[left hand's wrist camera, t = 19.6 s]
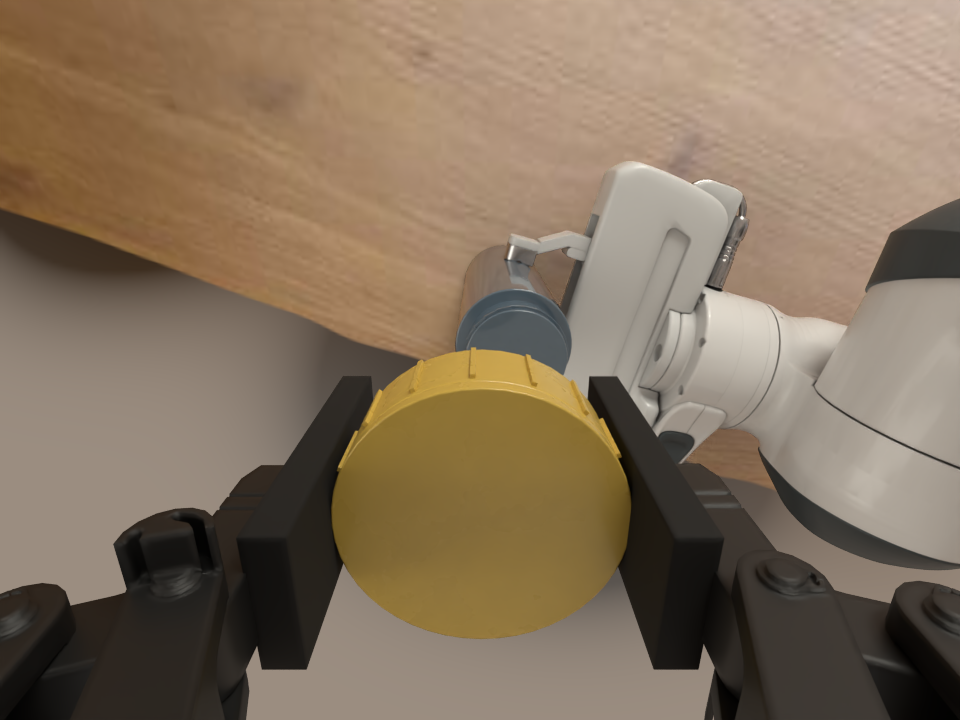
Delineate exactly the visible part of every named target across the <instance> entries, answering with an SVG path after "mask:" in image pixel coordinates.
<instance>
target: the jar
mask: <svg viewBox="0 0 960 720" xmlns="http://www.w3.org/2000/svg"><path fill="white" fill-rule="evenodd" d="M505 250H506V246H495V247H491V248H488V249H486V250H484V251H482V252H481V253H479V254H478V255H477V256H476V257H475V258H474V259H473V260H472V262H471V263H470V265H469V267H468V269H467V272H466V276H465V283H464V289H463V295H462V302H461V308H460V315H459V321H458V327H457V334H456V343H455V347H456V352H460V351H466V350H471V348H473V347H476V350H496V351H504V352H509V353H514V354H519V355H522V356H525V355H526V354H528V355H530V356H531V359H534V360H536V361H538V362H540V363H543V364H545V365H547V366H549V367H551V368H552V369H554V370H555V371H557V372H558V373H560V374H561V375H564V373H565V370H566V366H567V364H568V362H569V358H570V355H571V349H572V336H571V331H570V327H569V324H568V322H567V319H566V317H565V316H564V314H563V312H562V311H561V309H560V307H559V306H558V304H557V302H556V301H555V299H554V297H553V296H552V294H551V292H550V291H549V289H548V287H547V286H546V284H545V282H544V281H543V279H542V277H541V276H540V274H539V272H538V270H537V269H536V267H535V265H534V264H533V266H532V267H531V266H527V265H525V264H522V263H521V262H520V261H517V262H515V261H510V260H507V259H505V258H504V254H505Z"/></svg>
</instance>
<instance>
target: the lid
mask: <svg viewBox="0 0 960 720" xmlns="http://www.w3.org/2000/svg"><path fill="white" fill-rule="evenodd" d="M621 457H622V456H621V454H620V452H619V450H618V448H617V446H616V444H615V442H614V440H613V438H612V436H611V434H610V432H609V430H608V428H607V426H606V424H605V422H604V420H603V418H601V419H599V418H598V416H597V414H596V412H595V410H594V409H593V407H592V406H591V404H590V402H589V401H588V399H587V398H586V397H585V396H584V395H583V394H582V392H581V391H580V390H579V388H578V386H577V384H576V382H575V381H574V380H573V379H572V380H571V381H569V380H568V379H567V378H566V377H564V376H563V375H561V374H560V373H558V372H557V371H555V370H554V369H552V368H551V367H549V366H547V365H545V364H543V363H540V362H538V361H536V360H534V359H531V356H530V355H528V354H526V355H525V356H522V355H519V354H514V353H509V352H504V351H496V350H476V347H473V348H471V350H466V351H460V352H454V353H448V354H445V355H441V356H438V357H435V358H432V359H429V360H427V361H425V362H423V360H420V361H418V363H417V365H416V366H414V367H413V368H411V369H409V370H408V371H406V372H405V373H403V374H402V375H400V376H399V377H398V378H396V379H395V380H394V381H393V382H392V383H390V384H389V385H388V386H387V387H386V388H385V389H384V390H383V391H381V390H379V391H378V392H377V394H376V396H375V398H374V400H373V402H372V404H371V406H370V409H369V410H368V412H367V414H366V416H365V418H364V420H363V422H362V424H361V427H360V429H359V431H355V432H354V435H353V437H352V439H351V441H350V443H349V445H348V447H347V449H346V451H345V453H344V455H343V457H342V460H341V462H340V464H339V466H338V468H337V471H338V472H339V474H338V476H337V480H336V483H335V487H334V490H333V496H332V504H331V521H332V529H333V534H334V540H335V543H336V546H337V549H338V552H339V555H340V557H341V559H342V561H343V563H344V565H345V567H346V569H347V570H348V572H349V573H350V575H351V576H352V578H353V579H354V580H355V582H356V583H357V585H358V586H359V587H360V588H361V589H362V590H363V591H364V592H365V593H366V594H367V595H368V596H369V597H370V598H371V599H372V600H373V601H375V602H376V603H377V604H378V605H379V606H381V607H382V608H384V609H385V610H386V611H388V612H389V613H391V614H393V615H394V616H396V617H397V618H399V619H401V620H403V621H405V622H407V623H409V624H411V625H414V626H417V627H419V628H422V629H425V630H427V631H431V632H434V633H438V634H442V635H447V636H453V637H460V638H472V639H493V638H504V637H511V636H517V635H521V634H525V633H529V632H533V631H536V630H538V629H541V628H544V627H547V626H550V625H552V624H554V623H556V622H558V621H560V620H562V619H564V618H566V617H567V616H569V615H571V614H572V613H574V612H575V611H577V610H579V609H580V608H581V607H583V606H584V605H585V604H586V603H587V602H589V601H590V600H591V599H592V598H593V597H594V596H595V595H596V594H597V593H598V592H599V591H600V590H601V589H602V588H603V587H604V586H605V585H606V583H607V582H608V581H609V579H610V578H611V577H612V575H613V574H614V573H615V571H616V569H617V567H618V565H619V564H620V562H621V560H622V558H623V555H624V553H625V550H626V546H627V539H628V530H629V522H630V514H631V493H630V489H629V485H628V482H627V478H626V475H625V473H624V471H623V469H622V466H621V464H620V462H619V460H618V458H621Z"/></svg>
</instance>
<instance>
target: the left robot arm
mask: <svg viewBox="0 0 960 720" xmlns="http://www.w3.org/2000/svg"><path fill="white" fill-rule="evenodd" d="M587 399H588V401H589V402H590V404H591V406H592V407H593V409H594V410H595V412H596V414H597V416H598V418H599V419H601V418H603V420H604V422H605V424H606V426H607V428H608V430H609V432H610V434H611V436H612V438H613V440H614V442H615V444H616V446H617V448H618V450H619V452H620V454H621V456H622V457H621V458H618V460H619V462H620V464H621V466H622V469H623V471H624V473H625V475H626V478H627V482H628V485H629V489H630V493H631V514H630V522H629V530H628V539H627V546H626V550H625V553H624V555H623V558H622V560H621V562H620V564H619V565H618V568H619V570H620V574H621V576H622V579H623V582H624V585H625V588H626V591H627V594H628V597H629V599H630V602H631V605H632V608H633V611H634V614H635V617H636V620H637V622H638V625H639V628H640V631H641V634H642V637H643V640H644V643H645V646H646V648H647V651H648V654H649V657H650V660H651V663H652V666H653V669H666V670H672V669H673V670H676V669H678V670H679V669H682V670H689V669H691V670H695V669H696V670H698V669H699V664H700V659H701V654H702V649H703V644H704V645H705V648H706V650H707V652H708V654H709V656H710V658H711V660H712V662H713V664H714V667H715V669H714V674H713V679H712V683H711V688H710V693H709V697H708V702H707V707H706V711H705V719H704V720H712V719H713V715H714V720H960V591H958V590H955V589H953V588H952V589H951V588H949V587H946V586H943V585H940V584H935V583H929V582H923V581H914V582H905V583H903V584H902V585H900V586H899V587H898V588H897V589H896V590H895V593H894V596H893V599H892V601H891V604H890V603H886V602H881V601H877V600H872V599H868V598H863V597H859V596H855V595H850V594H846V593H842V592H839V591H835V590H834V589H833V587H832V586H831V584H830V583H829V582H828V580H827V579H826V577H825V576H824V575H823V574H821V573H820V572H819V571H818V570H816V569H815V568H814V567H813V566H811V565H810V564H808V563H806V562H804V561H802V560H800V559H798V558H796V557H794V556H792V555H789V554H785V553H782V552H779V551H777V550H776V549H775V548H774V547H773V545H772V544H771V543H770V542H769V540H768V539H767V538H766V536H765V535H764V534H763V533H762V531H761V530H760V529H759V527H758V526H757V525H756V524H755V522H754V521H753V520H752V518H751V517H750V516H749V515H748V513H747V512H746V511H745V509H744V508H741V504H740V503H739V502H738V500H737V499H736V498H735V497H734V495H731V491H730V490H729V489H728V488H727V486H726V485H725V484H724V482H723V481H722V480H721V479H720V477H719V476H717V475H716V474H714V473H713V472H711V471H710V470H708V469H707V468H705V467H704V466H702V465H701V464H675V463H674V461H673V460H672V458H671V457H670V455H669V454H668V452H667V450H666V449H665V447H664V446H663V444H662V443H661V441H660V440H659V438H658V437H657V435H656V434H655V432H654V431H653V429H652V428H651V426H650V425H649V423H648V422H647V420H646V419H645V417H644V416H643V414H642V413H641V411H640V410H639V408H638V407H637V405H636V404H635V402H634V401H633V399H632V398H631V396H630V395H629V393H628V392H627V390H626V389H625V387H624V386H623V384H622V383H621V381H620V380H619V378H618V377H617V376H589V386H588V398H587ZM372 402H373V394H372V382H371V376H343V377H342V379H341V380H340V382H339V383H338V385H337V386H336V388H335V389H334V391H333V392H332V394H331V395H330V397H329V398H328V400H327V401H326V403H325V404H324V406H323V407H322V409H321V410H320V412H319V413H318V415H317V416H316V418H315V419H314V421H313V422H312V424H311V425H310V427H309V428H308V430H307V431H306V433H305V434H304V436H303V438H302V439H301V441H300V442H299V443H298V445H297V447H296V448H295V450H294V451H293V453H292V454H291V456H290V457H289V459H288V460H287V462H286V463H285V465H261V466H259V467H258V468H256V469H255V470H253V471H252V472H250V473H249V474H247V475H246V476H245V477H243V478H242V479H241V480H240V481H239V482H238V484H237V485H236V486H235V488H234V489H233V490H232V491H231V493H230V496H229V497H227V498H226V499H225V501H224V502H223V503H222V504H221V506H220V509H219V510H217V511H216V512H215V514H214V515H213V516H211V515H210V514H209V513H208V512H206V511H205V510H200V509H195V508H181V509H173V510H169V511H165V512H161V513H157V514H155V515H152V516H150V517H148V518H146V519H143V520H141V521H139V522H137V523H136V524H134V525H133V526H131V527H130V528H129V529H127V530H126V531H124V532H123V533H122V534H121V535H120V537H119V538H118V539H117V540H116V541H115V543H114V544H113V545H114V548H115V551H116V555H117V558H118V561H119V565H120V568H121V571H122V575H123V578H124V581H125V585H126V588H127V590H126V592H125V593H122V594H119V595H116V596H111V597H107V598H103V599H98V600H94V601H89V602H85V603H80V604H76V605H72V606H70V603H69V600H68V597H67V594H66V592H65V591H64V590H63V589H62V588H61V587H59V586H58V585H54V584H45V583H40V584H34V585H27V586H22V587H19V588H16V589H12V590H10V591H7V592H4V593H2V594H0V720H246V715H247V706H248V697H249V686H248V679H247V674H246V668H247V666H248V664H249V662H250V659H251V657H252V655H253V653H254V651H255V649H256V647H258V652H259V657H260V662H261V667H262V669H264V670H266V669H268V670H269V669H273V670H276V669H281V670H282V669H283V670H285V669H288V670H290V669H293V670H295V669H299V670H300V669H302V670H306V669H307V667H308V664H309V661H310V658H311V655H312V652H313V649H314V646H315V643H316V641H317V638H318V635H319V632H320V629H321V626H322V623H323V621H324V617H325V615H326V612H327V609H328V606H329V603H330V600H331V597H332V595H333V592H334V589H335V586H336V583H337V580H338V577H339V574H340V572H341V569H342V566H343V561H342V559H341V557H340V555H339V552H338V549H337V546H336V543H335V540H334V534H333V529H332V521H331V504H332V496H333V490H334V487H335V483H336V480H337V476H338V474H339V472H338V471H337V468H338V466H339V464H340V462H341V460H342V457H343V455H344V453H345V451H346V449H347V447H348V445H349V443H350V441H351V439H352V437H353V435H354V432H355V431H359V429H360V427H361V424H362V422H363V420H364V418H365V416H366V414H367V412H368V410H369V409H370V406H371V404H372Z"/></svg>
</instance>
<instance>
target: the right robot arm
mask: <svg viewBox="0 0 960 720" xmlns="http://www.w3.org/2000/svg"><path fill="white" fill-rule="evenodd" d="M738 208H739V215H738V216H736V213H737V211H738ZM746 210H747V206H746V201H745V198H744V196H743V194H742V193H741V192H740V191H739V190H738V189H737V188H735V187H734V186H731V185H728V184H725V183H721V182H718V181H715V180H711V179H702V180H698V181H695V182H693V183H689V182H687V181H685V180H683V179H681V178H679V177H676V176H674V175H672V174H670V173H667V172H665V171H663V170H660V169H657V168H655V167H652V166H649V165H646V164H643V163H640V162H635V161H625V162H622V163H619V164H617V165H615V166H613V167H611V168H610V169H608V170H607V171H606V172H605V174H604V176H603V179H602V182H601V185H600V188H599V191H598V194H597V197H596V200H595V203H594V206H593V209H592V212H591V215H590V218H589V221H588V224H587V227H586V230H585V233H584V235H582V234H578V233H575V232H571V231H568V230H567V231H563V232H559V233H556V234H552V235H548V236H545V237H541V238H538V239H537V240H534V239H530V238H527V237H523V236H520V235H516V234H510V236H509V239H508V243H507V246H506V250H505V254H504V258H505V259H507V260H510V261H515V262H517V261H520V262H521V263H522V264H525V265H527V266H531V267H532V266H533V263H534V260H535V257H536V254H541V253H545V252H549V251H553V250H557V249H561V248H562V252H563V253H564V254H565V255H566V256H567V257H570V258H573V259H576V260H575V263H574V266H573V269H572V272H571V275H570V278H569V281H568V284H567V287H566V290H565V293H564V296H563V299H562V302H561V305H560V309H561V311H562V312H563V314H564V316H565V317H566V319H567V322H568V324H569V327H570V331H571V336H572V349H571V355H570V358H569V362H568V364H567V366H566V370H565V373H564V375H563V376H564V377H566V378H567V379H568V380H569V381H571V380H572V379H573V380H574V381H575V382H576V384H577V386H578V388H579V390H580V391H581V392H582V394H583V395H584V396H585V397H586V398H588V386H589V376H617V377H618V378H619V380H620V381H621V383H622V384H623V386H624V387H625V389H626V390H627V392H628V393H629V395H630V396H631V398H632V399H633V401H634V402H635V404H636V405H637V407H638V408H639V410H640V411H641V413H642V414H643V416H644V417H645V419H646V420H647V422H648V423H649V425H650V426H651V428H652V429H653V431H654V432H655V434H656V435H657V437H658V438H659V440H660V441H661V443H662V444H663V446H664V447H665V449H666V450H667V452H668V454H669V455H670V457H671V458H672V460H673V461H674V463H675V464H682V463H683V462H684V461H685V460H686V459H687V458H688V456H689V455H690V454H691V453H692V452H693V451H694V450H695V449H696V448H697V447H698V446H699V445H700V444H701V443H702V442H703V441H704V440H706V439H707V438H708V437H709V436H710V435H711V434H712V433H713V432H715V431H716V430H717V429H736V430H742V431H745V432H748V433H750V434H752V435H753V436H755V437H756V438H757V439H758V440H759V442H760V447H758V451H759V454H760V457H761V459H762V462H763V464H764V466H765V468H766V470H767V472H768V474H769V476H770V478H771V480H772V482H773V484H774V486H775V488H776V490H777V492H778V494H779V496H780V498H781V500H782V501H783V503H784V505H785V506H786V507H787V509H788V510H789V511H790V512H791V514H792V515H793V516H794V517H795V518H796V519H797V520H798V521H799V522H800V523H801V524H802V525H803V526H804V527H806V528H807V529H808V530H809V531H811V532H812V533H813V534H815V535H816V536H818V537H819V538H821V539H823V540H825V541H826V542H828V543H830V544H832V545H834V546H836V547H838V548H840V549H843V550H845V551H847V552H850V553H852V554H855V555H858V556H860V557H863V558H866V559H869V560H872V561H876V562H879V563H883V564H888V565H894V566H900V567H906V568H914V569H923V570H951V569H959V568H960V199H957V200H955V201H952V202H950V203H948V204H945V205H943V206H941V207H938V208H936V209H934V210H932V211H930V212H928V213H926V214H924V215H922V216H920V217H918V218H916V219H914V220H912V221H910V222H909V223H907V224H905V225H903V226H902V227H900V228H898V229H896V230H895V231H893V232H891V233H890V235H889V237H888V240H887V242H886V244H885V246H884V249H883V251H882V253H881V255H880V257H879V260H878V262H877V264H876V266H875V269H874V271H873V273H872V275H871V277H870V280H869V282H868V284H867V286H866V289H865V291H866V295H865V297H864V298H863V300H862V302H861V304H860V305H859V307H858V309H857V311H856V313H855V314H854V316H853V318H852V320H851V321H850V323H849V325H848V326H845V325H841V324H838V323H835V322H831V321H828V320H825V319H820V318H814V317H791V316H788V315H785V314H783V313H782V312H780V311H779V310H777V309H776V308H774V307H773V306H771V305H769V304H766V303H764V302H761V301H757V300H753V299H750V298H746V297H743V296H739V295H736V294H732V293H729V292H726V291H723V290H721V289H722V287H723V285H724V283H725V280H726V278H727V276H728V273H729V271H730V269H731V266H732V263H733V262H732V261H733V260H734V256H735V252H736V251H737V248H738V246H739V244H740V241H742V240H743V238H744V236H745V234H746V232H747V229H748V225H749V219H747V218H745V217H746Z"/></svg>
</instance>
